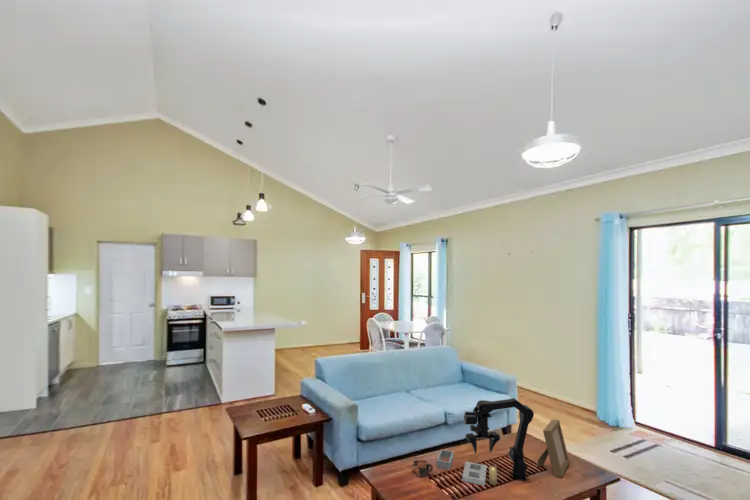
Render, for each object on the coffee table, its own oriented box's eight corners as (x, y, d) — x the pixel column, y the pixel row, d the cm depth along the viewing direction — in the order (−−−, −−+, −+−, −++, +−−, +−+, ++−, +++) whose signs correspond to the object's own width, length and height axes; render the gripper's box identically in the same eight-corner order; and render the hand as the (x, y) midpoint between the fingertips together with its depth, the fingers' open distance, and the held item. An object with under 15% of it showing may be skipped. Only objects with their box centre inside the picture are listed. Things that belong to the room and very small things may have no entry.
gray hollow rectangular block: (453, 458, 236) (453, 451, 236) (449, 469, 222) (449, 462, 222) (441, 455, 239) (441, 449, 239) (436, 467, 224) (436, 460, 225)
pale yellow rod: (496, 481, 211) (497, 466, 211) (496, 485, 207) (496, 470, 208) (489, 480, 212) (489, 465, 213) (488, 483, 208) (489, 468, 209)
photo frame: (569, 464, 233) (568, 422, 235) (561, 478, 216) (561, 433, 217) (543, 456, 242) (543, 416, 244) (534, 470, 225) (534, 426, 226)
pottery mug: (411, 477, 214) (410, 460, 218) (416, 477, 221) (415, 461, 226) (432, 476, 210) (430, 459, 214) (436, 476, 217) (435, 460, 222)
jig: (486, 469, 223) (486, 465, 223) (484, 485, 206) (484, 481, 206) (465, 465, 227) (465, 461, 227) (462, 481, 210) (462, 476, 210)
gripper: (491, 418, 228) (491, 444, 227) (461, 419, 224) (461, 447, 223) (500, 425, 217) (500, 453, 216) (469, 427, 213) (469, 456, 213)
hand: (482, 452), depth 217 cm, fingers open, 9 cm apart
